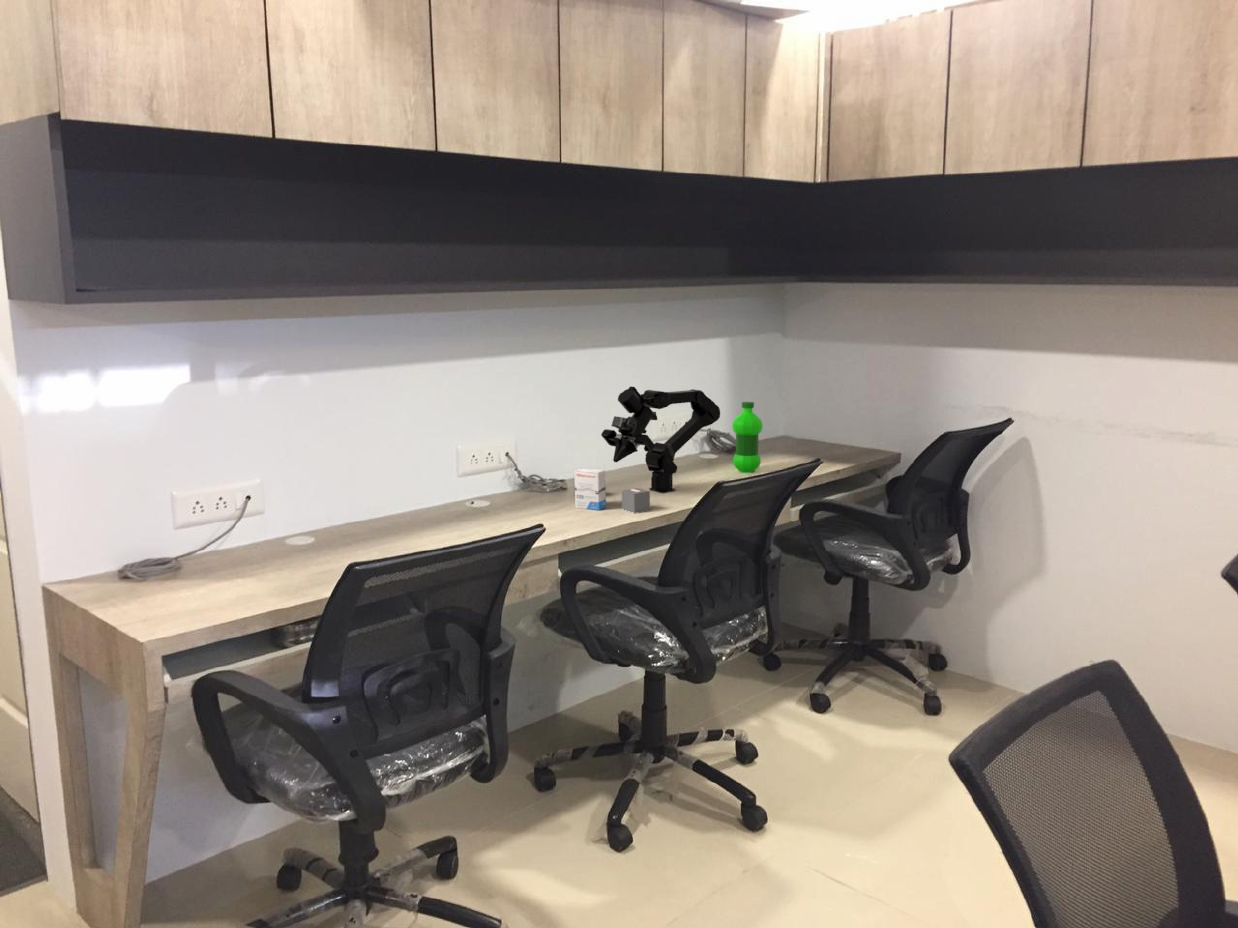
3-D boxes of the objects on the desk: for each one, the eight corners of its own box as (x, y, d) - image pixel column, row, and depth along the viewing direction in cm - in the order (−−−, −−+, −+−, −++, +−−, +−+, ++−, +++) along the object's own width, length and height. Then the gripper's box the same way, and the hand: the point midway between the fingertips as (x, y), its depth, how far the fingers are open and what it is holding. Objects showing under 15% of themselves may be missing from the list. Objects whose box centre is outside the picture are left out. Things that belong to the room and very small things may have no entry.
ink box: (606, 507, 302) (606, 469, 300) (598, 511, 298) (598, 472, 296) (582, 504, 306) (581, 467, 304) (574, 508, 302) (573, 470, 300)
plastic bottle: (761, 474, 351) (763, 404, 346) (731, 473, 352) (732, 404, 347) (761, 468, 360) (762, 400, 356) (731, 468, 362) (733, 400, 357)
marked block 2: (637, 507, 303) (637, 487, 302) (649, 510, 298) (649, 490, 297) (621, 509, 299) (621, 489, 298) (634, 513, 295) (634, 493, 294)
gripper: (604, 404, 316) (580, 442, 310) (648, 409, 303) (623, 449, 297) (622, 425, 323) (598, 463, 317) (665, 431, 310) (641, 471, 304)
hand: (614, 461), depth 309 cm, fingers closed
